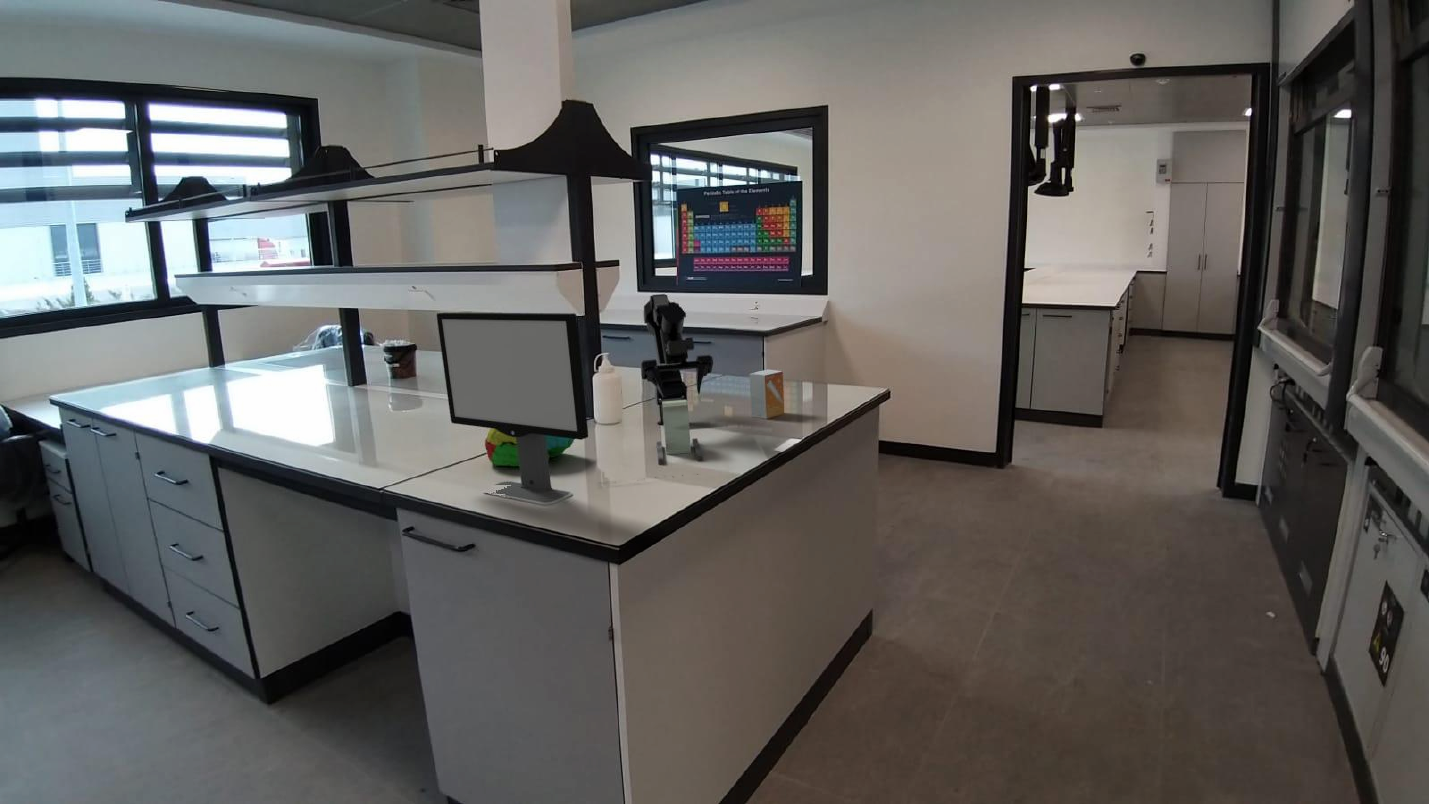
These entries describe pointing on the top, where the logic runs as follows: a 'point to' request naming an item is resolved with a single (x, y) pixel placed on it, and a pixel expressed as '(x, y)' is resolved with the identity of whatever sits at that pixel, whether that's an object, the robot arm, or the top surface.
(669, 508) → the top surface
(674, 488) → the top surface
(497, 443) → the brain model
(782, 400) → the small box
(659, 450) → the walnut chute
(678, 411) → the sage block
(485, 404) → the computer monitor
